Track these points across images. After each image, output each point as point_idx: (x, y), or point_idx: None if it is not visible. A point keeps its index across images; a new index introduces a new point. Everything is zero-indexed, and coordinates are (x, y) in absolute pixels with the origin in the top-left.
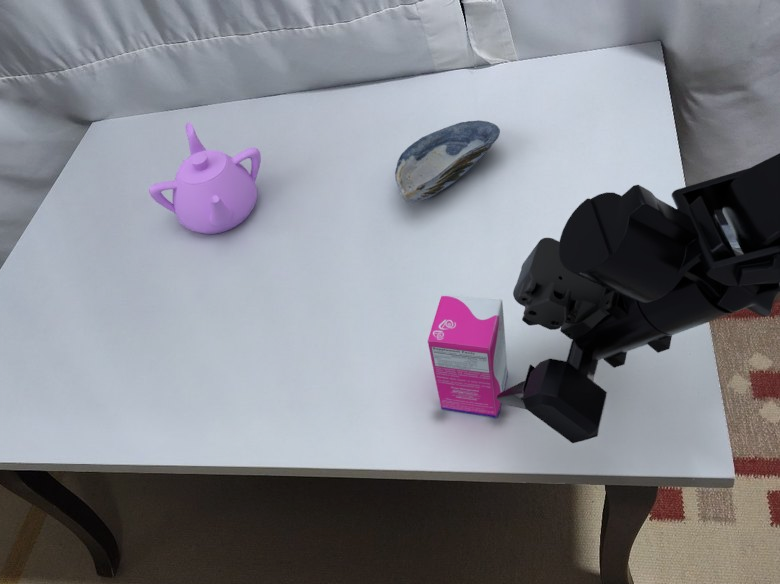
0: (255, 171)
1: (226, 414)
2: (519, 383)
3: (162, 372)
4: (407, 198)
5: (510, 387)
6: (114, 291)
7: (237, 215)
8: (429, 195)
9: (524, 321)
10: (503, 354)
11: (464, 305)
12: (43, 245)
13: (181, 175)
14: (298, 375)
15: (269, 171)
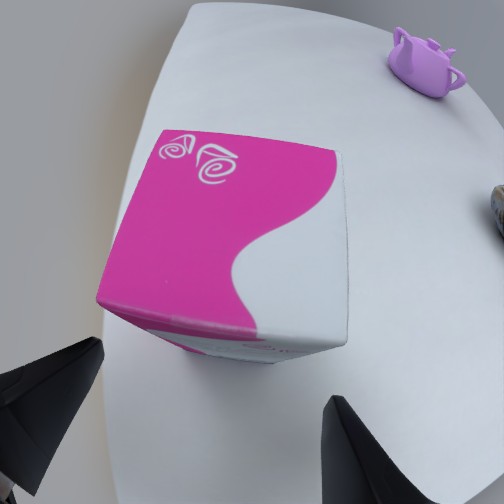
0: (452, 85)
1: (206, 76)
2: (34, 384)
3: (251, 47)
4: (494, 194)
5: (65, 365)
6: (322, 33)
7: (413, 77)
8: (501, 225)
9: (329, 400)
10: (256, 357)
11: (305, 207)
12: (345, 21)
13: (417, 38)
14: (253, 111)
15: (459, 111)
